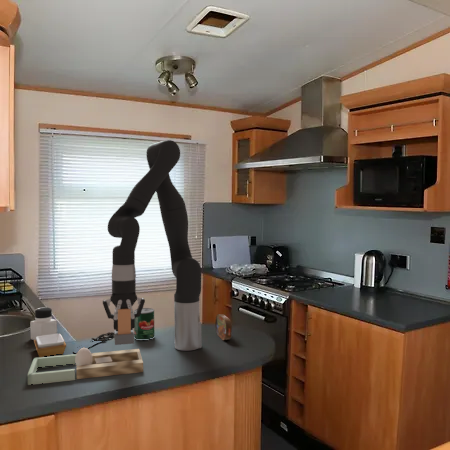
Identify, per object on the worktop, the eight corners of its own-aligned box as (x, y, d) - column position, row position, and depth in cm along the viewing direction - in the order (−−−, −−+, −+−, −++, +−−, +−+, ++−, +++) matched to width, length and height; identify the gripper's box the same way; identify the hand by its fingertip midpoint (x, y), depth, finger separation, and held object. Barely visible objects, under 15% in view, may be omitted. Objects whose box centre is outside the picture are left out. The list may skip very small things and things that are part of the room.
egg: (94, 366, 150) (93, 344, 149) (91, 372, 144) (90, 349, 144) (77, 367, 149) (76, 345, 149) (73, 373, 144) (73, 350, 143)
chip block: (110, 365, 152) (110, 356, 152) (112, 370, 147) (112, 361, 147) (94, 367, 150) (94, 358, 150) (96, 372, 145) (96, 363, 145)
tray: (76, 362, 153) (76, 354, 153) (74, 380, 139) (74, 370, 139) (34, 367, 150) (34, 358, 150) (27, 385, 135) (27, 375, 135)
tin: (214, 332, 188) (214, 311, 187) (222, 331, 189) (222, 311, 188) (225, 343, 173) (225, 321, 173) (233, 342, 174) (233, 320, 174)
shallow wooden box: (139, 357, 158) (139, 348, 158) (143, 371, 145) (143, 362, 145) (78, 363, 153) (78, 354, 153) (76, 379, 140) (76, 369, 139)
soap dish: (66, 355, 161) (66, 341, 161) (36, 360, 157) (36, 345, 157) (62, 345, 173) (61, 332, 172) (34, 349, 168) (33, 335, 168)
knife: (75, 356, 161) (75, 352, 161) (61, 353, 164) (61, 350, 164) (121, 336, 184) (121, 333, 184) (108, 334, 187) (108, 331, 187)
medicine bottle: (57, 337, 182) (56, 307, 181) (41, 342, 176) (41, 311, 175) (46, 334, 186) (45, 305, 185) (30, 339, 180) (29, 309, 179)
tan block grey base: (132, 338, 154) (132, 305, 153) (134, 343, 148) (134, 309, 147) (114, 339, 152) (114, 306, 151) (115, 344, 146) (114, 310, 146)
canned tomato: (146, 342, 175) (145, 313, 175) (130, 339, 179) (129, 311, 178) (158, 336, 182) (158, 309, 182) (143, 333, 186) (142, 307, 185)
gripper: (144, 275, 154) (145, 325, 155) (101, 276, 151) (101, 328, 152) (147, 279, 147) (147, 332, 148) (101, 280, 143) (101, 335, 144)
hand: (124, 329), depth 150 cm, fingers closed on tan block grey base, 4 cm apart
